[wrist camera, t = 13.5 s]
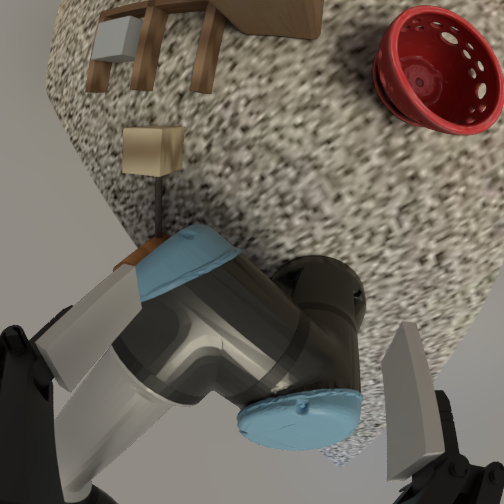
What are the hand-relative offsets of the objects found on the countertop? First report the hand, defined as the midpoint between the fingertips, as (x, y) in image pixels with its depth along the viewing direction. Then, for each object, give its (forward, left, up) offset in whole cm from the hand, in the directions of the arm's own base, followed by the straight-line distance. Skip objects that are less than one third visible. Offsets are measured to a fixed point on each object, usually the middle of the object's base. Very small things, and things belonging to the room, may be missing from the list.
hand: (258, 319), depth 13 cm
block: (+19, +28, -26) cm, 43 cm away
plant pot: (+18, -11, -26) cm, 34 cm away
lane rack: (+17, +24, -26) cm, 39 cm away
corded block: (-5, +20, -26) cm, 33 cm away
